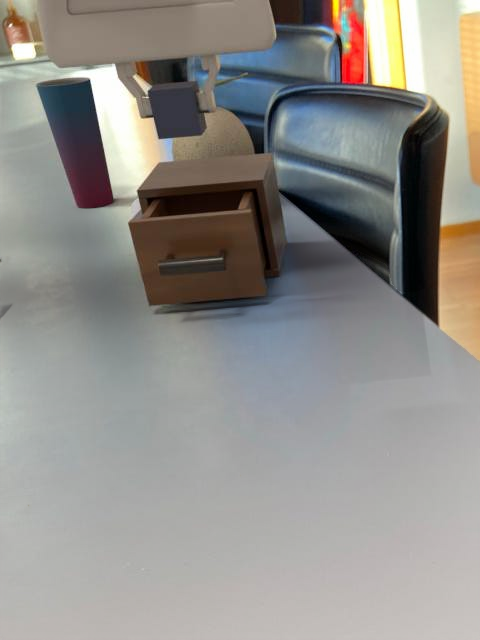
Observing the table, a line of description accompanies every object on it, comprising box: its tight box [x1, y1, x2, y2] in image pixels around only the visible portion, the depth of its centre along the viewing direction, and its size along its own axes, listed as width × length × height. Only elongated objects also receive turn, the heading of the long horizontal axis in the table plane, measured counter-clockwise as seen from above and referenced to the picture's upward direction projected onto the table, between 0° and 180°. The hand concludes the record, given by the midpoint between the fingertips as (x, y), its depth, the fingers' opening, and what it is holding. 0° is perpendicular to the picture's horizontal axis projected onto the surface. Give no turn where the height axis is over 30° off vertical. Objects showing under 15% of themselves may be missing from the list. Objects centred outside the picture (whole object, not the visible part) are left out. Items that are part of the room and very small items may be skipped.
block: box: [147, 80, 207, 140], centre depth 94 cm, size 4×4×4 cm
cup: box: [35, 76, 115, 209], centre depth 136 cm, size 7×7×15 cm
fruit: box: [171, 72, 256, 161], centre depth 132 cm, size 10×12×15 cm
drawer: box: [127, 189, 268, 307], centre depth 100 cm, size 17×11×8 cm
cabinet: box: [136, 152, 288, 279], centre depth 110 cm, size 14×13×10 cm
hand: (178, 114), depth 95 cm, fingers closed on block, 4 cm apart
